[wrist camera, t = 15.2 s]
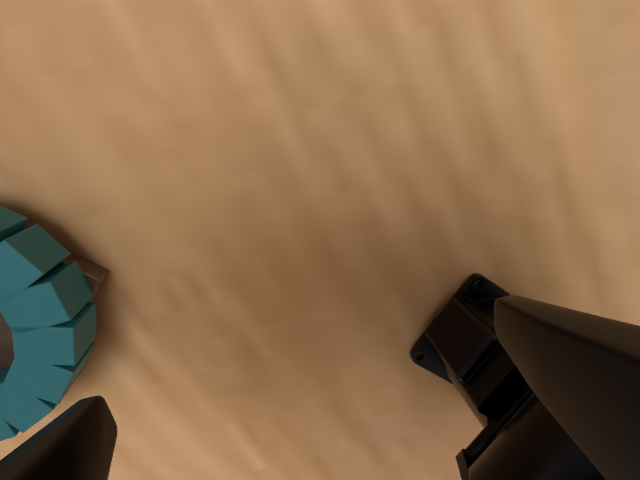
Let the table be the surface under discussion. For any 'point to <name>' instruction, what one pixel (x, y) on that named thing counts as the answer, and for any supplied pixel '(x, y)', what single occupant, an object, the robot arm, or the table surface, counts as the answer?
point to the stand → (3, 351)
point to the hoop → (40, 322)
